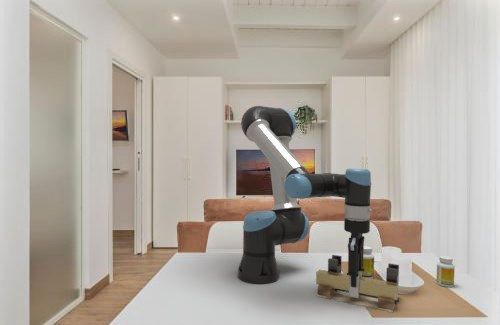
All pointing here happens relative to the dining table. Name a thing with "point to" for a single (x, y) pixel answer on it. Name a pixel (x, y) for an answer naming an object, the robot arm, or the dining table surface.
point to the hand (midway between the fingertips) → (355, 294)
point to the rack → (391, 276)
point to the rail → (365, 284)
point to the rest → (356, 299)
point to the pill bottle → (368, 263)
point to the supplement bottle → (445, 272)
